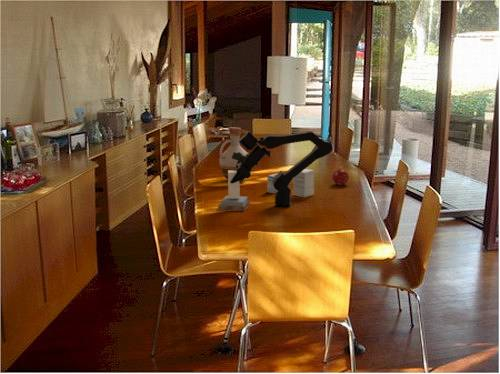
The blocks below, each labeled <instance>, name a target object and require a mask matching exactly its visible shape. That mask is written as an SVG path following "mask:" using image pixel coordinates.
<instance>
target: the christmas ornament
mask: <svg viewBox="0 0 500 374" xmlns="http://www.w3.org/2000/svg"><path fill="white" fill-rule="evenodd" d="M349 175H350V174H349V172H348V171H347V170H345V169H343V167H342V166H339V169H336V170H334V172H333V173H332V180H333V183H335V184H336V185H338V186H343V185H345V184H347V182H349V178H350V177H349Z"/></svg>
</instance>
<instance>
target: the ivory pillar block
mask: <svg viewBox="0 0 500 374" xmlns="http://www.w3.org/2000/svg"><path fill="white" fill-rule="evenodd" d="M236 173H237V170H228V180H227V185H228V186H227V190H228V191H227V192H228V195H227V196H229V199H236V198H240V196H241V194H240V192H241V191H240V184H241V183H240V182H239V181H237V182H235V183H232V184H231V183H230V181H231V180H232V178H233V177H234V176H235V174H236Z"/></svg>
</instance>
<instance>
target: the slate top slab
mask: <svg viewBox="0 0 500 374" xmlns="http://www.w3.org/2000/svg"><path fill="white" fill-rule="evenodd" d="M247 200H248V196H245V195H244V196H242V195H240V198H236V199H229V196H228V195H226V196H225V197H223V199H222V200H221V202H220V204H221V206H244V205H245V203H246V202H247Z"/></svg>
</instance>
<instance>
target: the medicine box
mask: <svg viewBox="0 0 500 374" xmlns="http://www.w3.org/2000/svg"><path fill="white" fill-rule="evenodd" d="M278 173H279V172H278ZM278 173H274V174H273V173H272V174H270V175H267V193H269V194H276V193H277V190H276V189H275V188H274V186H273V183H272V181H273V178H274V177H275V175H277V174H278Z"/></svg>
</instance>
